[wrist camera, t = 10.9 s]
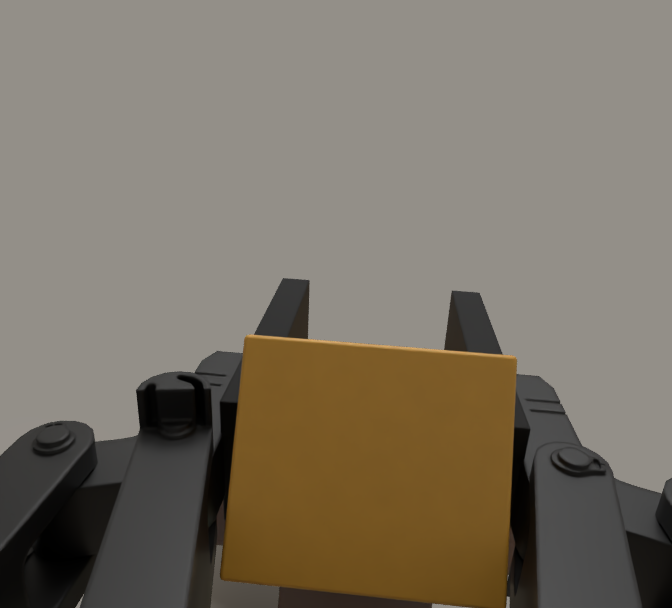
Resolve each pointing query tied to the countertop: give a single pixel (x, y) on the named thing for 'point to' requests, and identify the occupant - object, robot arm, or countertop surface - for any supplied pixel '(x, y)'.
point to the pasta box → (372, 471)
